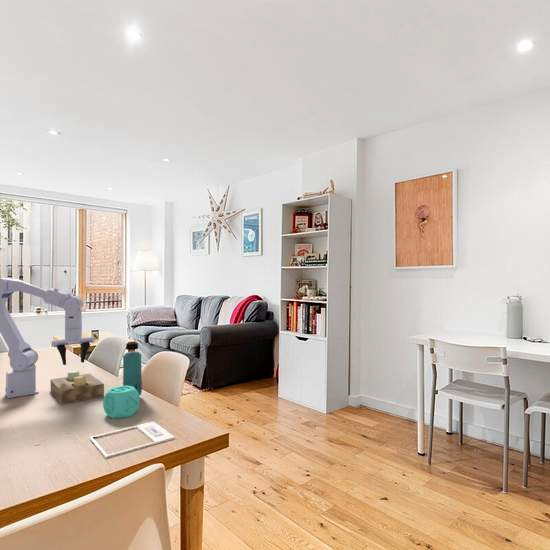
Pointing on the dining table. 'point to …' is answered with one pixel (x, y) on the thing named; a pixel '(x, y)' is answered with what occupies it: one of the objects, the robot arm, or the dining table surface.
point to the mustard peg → (79, 381)
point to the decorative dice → (121, 401)
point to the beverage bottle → (132, 368)
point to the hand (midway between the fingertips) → (73, 363)
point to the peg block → (76, 389)
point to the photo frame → (148, 429)
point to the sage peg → (72, 375)
